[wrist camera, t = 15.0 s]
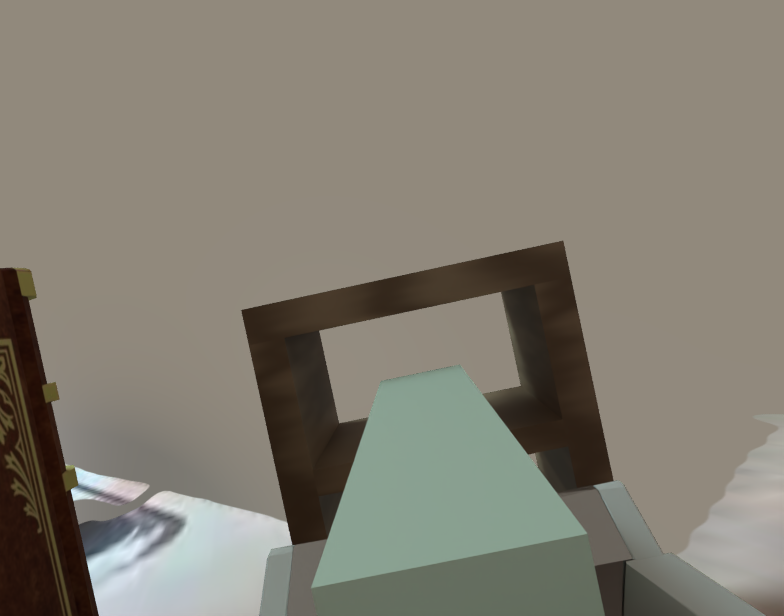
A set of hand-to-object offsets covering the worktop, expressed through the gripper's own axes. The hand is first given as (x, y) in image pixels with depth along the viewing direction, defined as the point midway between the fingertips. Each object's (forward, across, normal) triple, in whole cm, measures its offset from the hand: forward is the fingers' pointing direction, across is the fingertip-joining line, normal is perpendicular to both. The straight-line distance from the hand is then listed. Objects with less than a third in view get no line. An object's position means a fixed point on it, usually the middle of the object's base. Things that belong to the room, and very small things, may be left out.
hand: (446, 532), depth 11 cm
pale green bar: (+4, 0, +5) cm, 7 cm away
